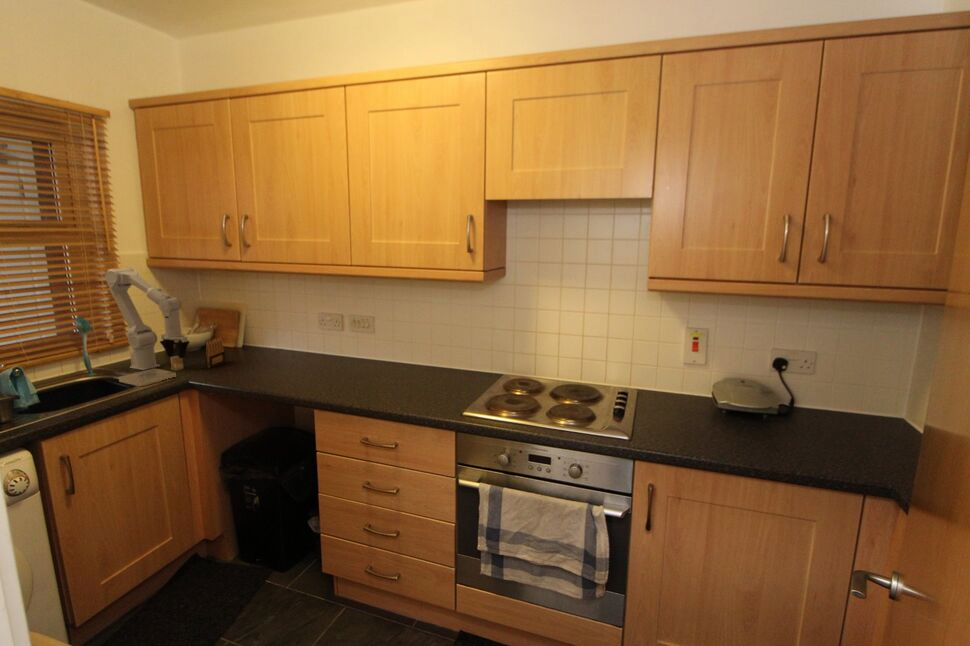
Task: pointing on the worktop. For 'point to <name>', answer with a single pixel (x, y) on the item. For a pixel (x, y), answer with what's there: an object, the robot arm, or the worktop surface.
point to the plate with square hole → (147, 377)
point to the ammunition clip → (215, 353)
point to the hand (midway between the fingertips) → (176, 356)
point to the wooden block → (176, 363)
